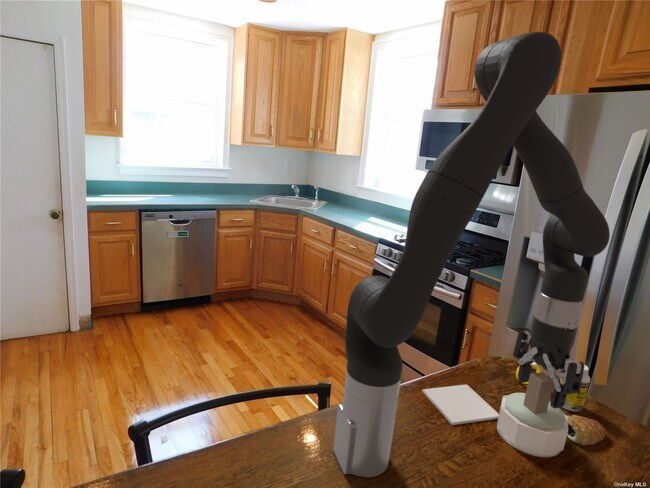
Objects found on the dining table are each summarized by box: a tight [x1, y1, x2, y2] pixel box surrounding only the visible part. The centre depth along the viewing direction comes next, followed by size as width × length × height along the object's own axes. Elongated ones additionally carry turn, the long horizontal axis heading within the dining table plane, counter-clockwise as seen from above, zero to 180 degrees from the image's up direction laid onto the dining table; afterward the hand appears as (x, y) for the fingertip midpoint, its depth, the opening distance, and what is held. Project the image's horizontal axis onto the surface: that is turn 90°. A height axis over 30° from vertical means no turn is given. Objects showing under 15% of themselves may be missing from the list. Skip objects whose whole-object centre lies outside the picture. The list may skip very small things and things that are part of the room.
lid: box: [505, 372, 565, 430], centre depth 84 cm, size 11×11×8 cm
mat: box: [422, 384, 499, 426], centre depth 95 cm, size 12×12×1 cm
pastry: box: [566, 414, 607, 447], centre depth 88 cm, size 9×7×4 cm
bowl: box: [496, 394, 568, 458], centre depth 86 cm, size 12×12×6 cm
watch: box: [515, 362, 542, 385], centre depth 106 cm, size 6×3×6 cm, turn 99°
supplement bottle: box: [560, 364, 591, 413], centre depth 98 cm, size 6×6×10 cm
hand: (538, 393), depth 84 cm, fingers open, 8 cm apart
